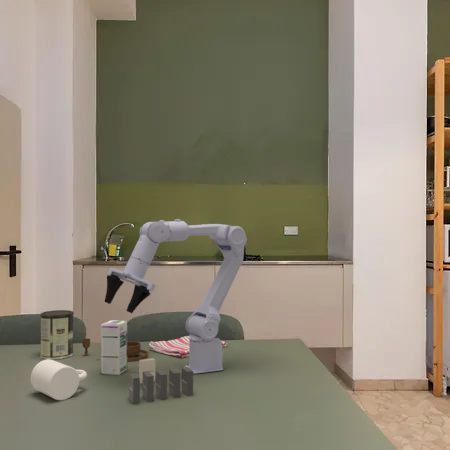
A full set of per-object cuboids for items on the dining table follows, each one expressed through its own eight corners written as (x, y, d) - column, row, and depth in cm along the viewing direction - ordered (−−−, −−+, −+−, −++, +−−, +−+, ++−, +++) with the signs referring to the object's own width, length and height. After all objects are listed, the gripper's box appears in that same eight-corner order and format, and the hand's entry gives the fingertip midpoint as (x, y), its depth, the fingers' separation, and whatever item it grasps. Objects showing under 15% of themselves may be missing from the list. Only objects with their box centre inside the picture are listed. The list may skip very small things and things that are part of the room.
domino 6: (187, 390, 125) (187, 366, 125) (193, 395, 122) (193, 370, 122) (181, 391, 125) (181, 367, 125) (186, 396, 121) (187, 371, 121)
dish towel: (146, 351, 167) (147, 341, 167) (195, 340, 185) (195, 331, 185) (180, 360, 156) (181, 349, 156) (229, 348, 173) (229, 338, 173)
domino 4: (161, 393, 122) (162, 369, 123) (167, 398, 119) (167, 374, 119) (155, 394, 122) (155, 370, 122) (160, 399, 118) (160, 375, 118)
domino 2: (139, 382, 132) (139, 359, 132) (153, 380, 134) (153, 358, 134) (140, 383, 131) (140, 361, 131) (155, 381, 132) (155, 359, 132)
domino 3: (148, 395, 121) (148, 371, 121) (153, 400, 117) (153, 375, 117) (142, 396, 120) (142, 372, 120) (147, 401, 117) (147, 376, 117)
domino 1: (135, 397, 120) (135, 373, 120) (139, 403, 116) (139, 377, 116) (128, 398, 119) (129, 374, 119) (133, 404, 115) (133, 378, 115)
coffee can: (59, 350, 166) (59, 309, 167) (79, 354, 161) (80, 311, 161) (33, 356, 158) (33, 313, 158) (53, 361, 152) (54, 316, 152)
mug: (48, 404, 115) (49, 370, 115) (29, 394, 122) (30, 362, 122) (93, 392, 124) (94, 360, 124) (73, 383, 130) (74, 353, 131)
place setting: (122, 368, 148) (122, 348, 148) (78, 358, 159) (78, 339, 159) (160, 355, 162) (161, 338, 162) (118, 347, 173) (118, 330, 173)
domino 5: (174, 392, 124) (174, 368, 124) (180, 397, 120) (180, 372, 120) (168, 393, 123) (168, 369, 123) (173, 397, 120) (174, 373, 120)
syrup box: (119, 375, 138) (120, 323, 138) (100, 374, 139) (100, 323, 139) (127, 369, 144) (128, 320, 144) (109, 368, 145) (109, 319, 145)
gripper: (111, 249, 134) (89, 295, 130) (154, 264, 128) (132, 313, 124) (124, 257, 140) (103, 301, 137) (165, 272, 134) (144, 319, 130)
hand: (117, 307), depth 131 cm, fingers open, 7 cm apart
